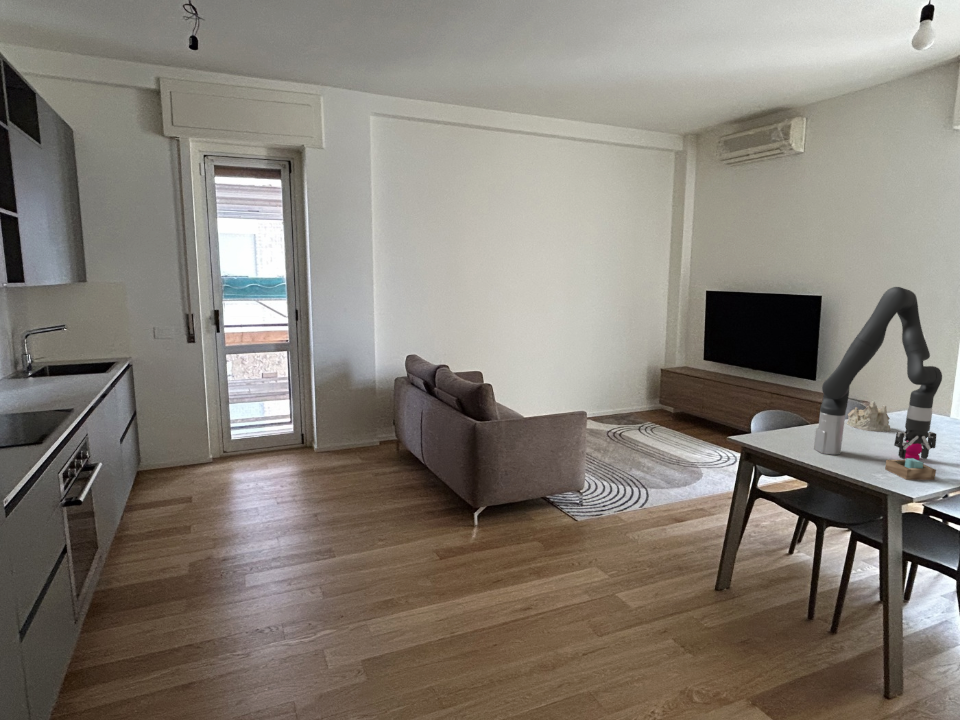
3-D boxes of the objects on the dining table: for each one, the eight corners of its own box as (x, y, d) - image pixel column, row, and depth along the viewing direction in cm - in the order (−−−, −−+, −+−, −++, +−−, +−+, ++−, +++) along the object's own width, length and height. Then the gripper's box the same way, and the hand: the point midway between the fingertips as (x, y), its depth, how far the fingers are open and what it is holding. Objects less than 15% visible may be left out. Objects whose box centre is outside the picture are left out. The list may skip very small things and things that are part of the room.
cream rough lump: (896, 431, 279) (897, 401, 277) (863, 432, 278) (864, 402, 277) (873, 424, 294) (874, 396, 293) (842, 425, 294) (843, 397, 292)
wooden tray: (906, 479, 215) (907, 469, 214) (885, 469, 226) (886, 459, 225) (934, 479, 215) (936, 469, 215) (912, 469, 226) (913, 459, 225)
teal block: (921, 475, 217) (923, 462, 216) (913, 475, 217) (915, 462, 216) (911, 470, 222) (913, 458, 221) (904, 470, 222) (905, 458, 221)
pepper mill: (895, 455, 243) (901, 410, 240) (911, 455, 243) (917, 410, 240) (908, 461, 236) (915, 414, 232) (925, 461, 236) (932, 414, 233)
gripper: (907, 420, 213) (902, 461, 216) (945, 420, 213) (938, 461, 216) (893, 414, 220) (887, 454, 223) (929, 415, 221) (923, 455, 223)
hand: (912, 458), depth 219 cm, fingers open, 8 cm apart
